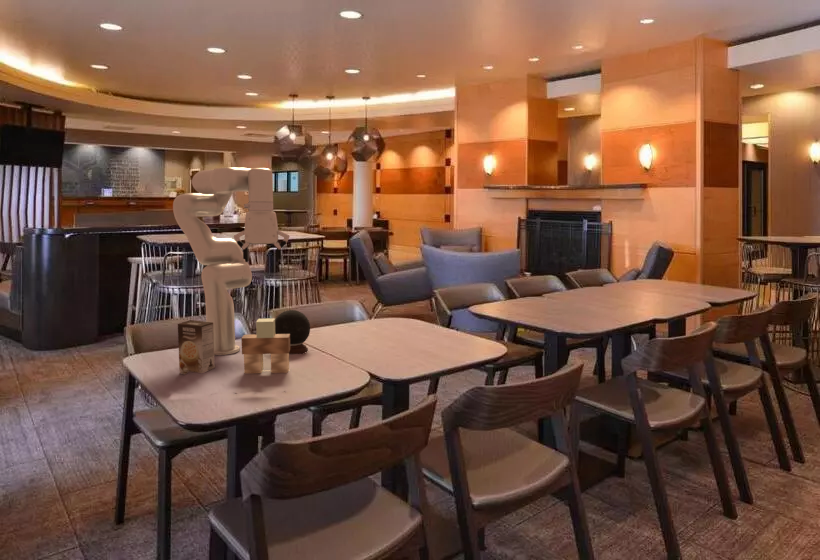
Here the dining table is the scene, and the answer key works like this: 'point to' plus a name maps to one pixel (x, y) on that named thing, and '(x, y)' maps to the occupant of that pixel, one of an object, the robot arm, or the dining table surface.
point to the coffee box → (196, 346)
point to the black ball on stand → (294, 329)
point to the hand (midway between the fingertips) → (262, 261)
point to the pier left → (253, 363)
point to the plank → (266, 344)
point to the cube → (265, 328)
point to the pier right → (279, 363)
